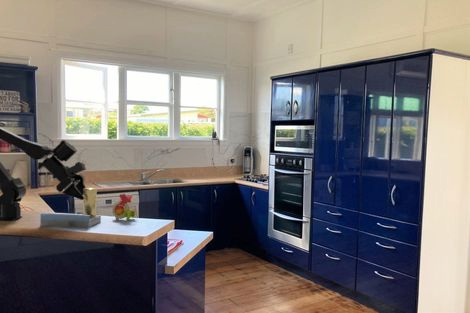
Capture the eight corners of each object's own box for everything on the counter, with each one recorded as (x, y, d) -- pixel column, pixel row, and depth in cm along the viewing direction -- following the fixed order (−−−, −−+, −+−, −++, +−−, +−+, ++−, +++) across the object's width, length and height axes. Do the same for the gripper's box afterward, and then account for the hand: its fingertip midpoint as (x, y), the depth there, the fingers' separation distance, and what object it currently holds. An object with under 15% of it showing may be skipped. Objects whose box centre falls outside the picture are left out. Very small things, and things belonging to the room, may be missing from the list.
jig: (40, 226, 140) (40, 213, 140) (56, 219, 151) (56, 208, 151) (88, 228, 139) (88, 215, 139) (100, 221, 150) (100, 210, 150)
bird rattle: (114, 226, 152) (134, 218, 151) (104, 200, 152) (124, 192, 151) (120, 223, 158) (140, 215, 157) (110, 198, 159) (130, 190, 158)
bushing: (80, 220, 151) (81, 189, 151) (86, 218, 156) (86, 187, 156) (93, 221, 151) (93, 189, 151) (98, 218, 156) (98, 188, 156)
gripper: (65, 156, 143) (95, 186, 144) (79, 154, 161) (106, 181, 163) (43, 177, 142) (73, 206, 144) (59, 173, 160) (86, 199, 162)
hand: (86, 197), depth 153 cm, fingers open, 9 cm apart
